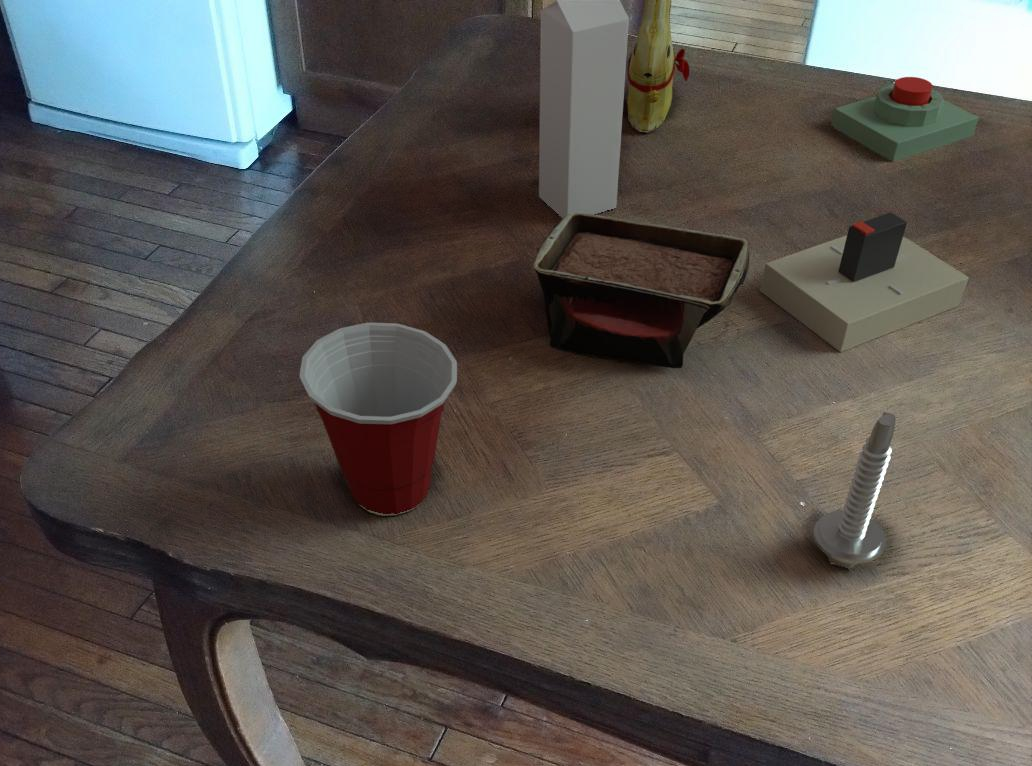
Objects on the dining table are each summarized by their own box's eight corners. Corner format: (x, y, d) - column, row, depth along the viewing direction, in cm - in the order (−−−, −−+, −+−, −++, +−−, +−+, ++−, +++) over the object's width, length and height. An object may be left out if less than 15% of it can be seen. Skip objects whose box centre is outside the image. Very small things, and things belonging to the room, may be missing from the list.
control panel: (874, 250, 103) (882, 221, 101) (959, 306, 96) (970, 275, 94) (759, 291, 99) (765, 261, 96) (840, 352, 92) (848, 322, 89)
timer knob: (878, 257, 97) (891, 209, 93) (894, 267, 95) (908, 219, 92) (837, 271, 95) (849, 223, 92) (853, 282, 94) (865, 234, 90)
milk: (538, 198, 111) (538, -28, 96) (588, 184, 113) (596, -40, 97) (567, 224, 108) (572, -7, 92) (618, 209, 109) (631, -20, 94)
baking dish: (586, 281, 104) (571, 188, 97) (767, 299, 96) (766, 199, 89) (526, 373, 96) (505, 279, 89) (718, 400, 88) (713, 299, 81)
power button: (910, 89, 119) (914, 73, 118) (936, 102, 117) (940, 86, 116) (883, 97, 118) (887, 81, 117) (908, 111, 116) (913, 95, 114)
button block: (909, 103, 125) (918, 68, 122) (973, 136, 119) (984, 101, 116) (830, 127, 121) (837, 92, 118) (892, 162, 115) (901, 126, 112)
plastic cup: (448, 550, 76) (439, 422, 68) (305, 534, 78) (278, 406, 69) (476, 451, 84) (471, 324, 75) (344, 438, 85) (324, 312, 77)
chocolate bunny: (619, 138, 120) (628, -2, 110) (630, 97, 128) (640, -38, 117) (679, 143, 119) (695, 2, 108) (687, 101, 127) (703, -35, 116)
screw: (865, 528, 77) (888, 578, 74) (800, 533, 77) (819, 583, 74) (912, 386, 68) (941, 436, 64) (838, 391, 67) (862, 441, 64)
